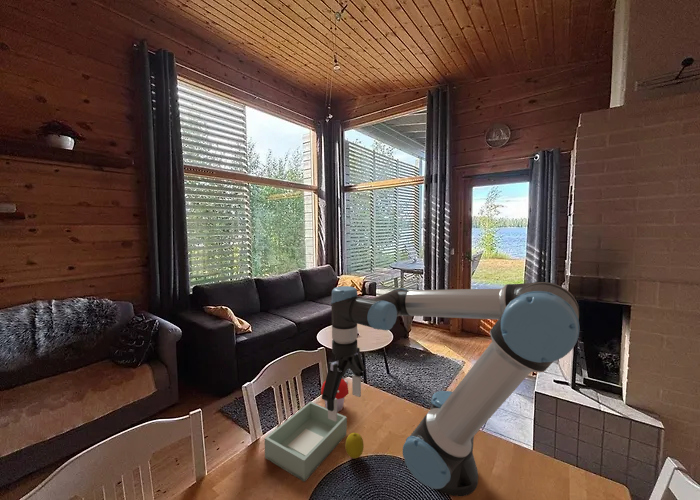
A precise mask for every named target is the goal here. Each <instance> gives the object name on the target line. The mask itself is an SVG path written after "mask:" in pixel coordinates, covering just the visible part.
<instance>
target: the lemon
mask: <svg viewBox="0 0 700 500" xmlns="http://www.w3.org/2000/svg"><path fill="white" fill-rule="evenodd" d="M345 439H346V440H345V445H344V446H345V451H346V454H347V455H348V457H350V458H351V459H358V458H360V457H361V456H362V454H363V452H364V447H365V445H364V444H365V443H364V439H363V437H362V436H361V434H360V433H358V432H351V433H350V434H348V436H347V437H346V438H345Z"/></svg>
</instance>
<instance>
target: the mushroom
mask: <svg viewBox="0 0 700 500" xmlns="http://www.w3.org/2000/svg"><path fill="white" fill-rule="evenodd" d="M325 382H326V380H324V382H323V383H322V385H321V391H320V394H321V396H322V394H323V390H324V386H325ZM348 394H349V381H348V380H346V379H343V378H342V379H341V382H340V385H339V388H338V391H337V394H336V397H335V398H337V413H338V412H341V410H342V409H343V408H344V402H345V397H346V396H348ZM324 404H325V406H324V407H325V408H327V401H326V400H324Z"/></svg>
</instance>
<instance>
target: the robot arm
mask: <svg viewBox="0 0 700 500" xmlns="http://www.w3.org/2000/svg"><path fill="white" fill-rule="evenodd" d="M330 307H331V338H332V340H331V351H332V354H333V355H334V356H335V357H334V358H335V359H334V361H332V362H331V361H329V362H328V365H327V366H328V367H327V373H326V378H325V381H326V382H325V386H324V390H323V394H322V395H321V400H323V401H325V400H326V401H327V409H328V419H330V420H333V421H335V422H336V421H337V413H338V412H337V398H335V397H336V394H337V391H338V388H339V385H340V382H341V379H343V377H345V375H346V372H347V371H348V370H350V371H351V372H352V373H353V374H352V375H351V380H352V381H351V382H352V383H351V384H352V386H351V389H352V390H351V391H352V396H355V397H358V398H361V396H362V389H361V387H362V386H361V385H362V383H361V382H362V378H361V377H364V376H365V373H364V372H365V370H366V369H365V365H364V361H363V359H362V356H361V349H360V348H361V347H358V325H360V326H361V325H362V326H365V327H369V328H372V329H375V330H379V331H380V330H382V331H390V330H391V329H392V328H393V327H394V325H395V324H396V322H397V317H401V316H403V317H404V316H405V317H426V318H427V317H433V318H450V319H451V318H452V319H454V318H456V319H472V320H473V319H477V320H497V321H496V323H495V324H494V325H493V326H492V327H491V329H490V330H489V335H490V339H491V342H490V344H488V346H487V347H486V349H485V350H484V351H483V353H482V354H481V355H480V356H479V358H478V359H477V360H476V361H475V363H474V364H472V367H471V368H470V369H469V370H468V372H466V374H465V375H464V376H463V378H462V379H461V381H460V382H459V383H458V385H456V387H455V389H454V390H453V391H451V390H450V391H449V390H440V391H436V392H434V393H433V394H432V396H431V400H430V403H431V406H430V409H429V411H428V412H427V413H426V414H425V416H424V417H423V418H422V420H421V421H420V422H419V424H418V425H417V426H416V428H414V430H413V431H412V433H410V435H409V436H408V437H406V438H405V442H404V443H403V445H402V457H403V459H404V463H405V465H406V468H407V469H408V470H409V472H410V473H411V474H412V476H413V477H414V478H415V479H416V480H417V481H418V482H420V483H421V484H422V485H424V486H426V487H429V488H430V489H435V490H437V491H439V492H441V493H443V494H445V493H446V494H445V495H448V496H453V497H465V496H468V495H471V494H472V493H474V492H475V490H476V489H477V487H478V484H479V471H478V466H477V464H476V460H475V456H474V452H473V451H474V438H475V435H476V434H477V433H478V432H479V430H481V429H482V428H483V427H484V425H485V424H486V423H487V422H488V421H490V418H491V417H492V416H493V415H494V414H495V413H496V412H497V411H498V410H499V409H500V407H501V406H502V405H503V404H504V403H505V402H506V400H507V399H508V398H509V397H510V396H511V395H512V394H513V393H514V392H515V391H516V390H517V388H518V387H519V386H520V385H521V384H522V383H523V381H524V380H526V378H527V377H528V376H529V375H530V374H531V373H544V372H546V370H547V369H548V368H549V367H550V366H552V364H553V363H554V362H556V361H558V360H561V359H563V358H564V357H566V356H567V355H568V354H569V353H571V352H572V351H573V349H574V347H575V345H576V344H577V342H578V340H579V336H580V329H581V328H580V321H579V319H580V307H579V304H578V301H577V300H576V298H575V297H574V295H573V294H572V293H571V292H570V291H569V290H567V289H566V288H565V287H563V286H561V285H559V284H556V283H553V282H546V281H539V282H538V281H537V282H525V283H507V284H505V285H504V286H503V287H502V288H462V289H461V288H459V289H455V288H454V289H420V290H419V289H412V290H410V289H407V288H402V287H401V288H394V289H393V290H390V291H389V292H386V293H383V294H381V295H379V296H376V297H373V298H369V297H362V296H358V289H357V288H356V287H354V286H348V285H345V286H344V285H341V286H337V287H334V288H333V289H332V290H331V301H330Z"/></svg>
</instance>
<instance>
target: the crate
mask: <svg viewBox="0 0 700 500" xmlns="http://www.w3.org/2000/svg"><path fill="white" fill-rule="evenodd" d="M347 423H348V422H347V416H346V415H343V414H341V413H338V412H337V421H336V422H335V421H333V420H330V419H328V409H327V408H326V406H322V405H319V404H317V403H315V402H313V401H309V402H308V403H306V404H304V406H303V407H301V408H300V409H298V410H297V411H296V412H294V414H293V415H292V416H290V417H289V418H288V419H286V420H285V421H284V422H283V423H281V425H279V426H278V427H276V428H275V429H274V430H273V431H271V432H270V433H269V434H268V435H267V436H265V437H264V458H265V459H266V460H268V461H269V462H271V463H273V464H274V465H276V466H277V467H279V468H281V469H282V470H284V471H286V473H289V474H290V475H292V476H294V477H295V478H298V479H299V480H301V481H302V482H306V481H307V480H308V479H309V478H310V477H311V475H312V474H313V473H314V472H315V471H316V469H318V467H319V466H321V464H322V463H323V462H324V461H325V460H326V459H327V457H328V456H329V455H330V454H331V453H332V452H333V450H334V449H335V448H336V447H338V445H339V444H340V443H341V442H342V440H343V439H345V437H346V436H347V434H348V433H347V429H348V427H347V426H348V425H347Z"/></svg>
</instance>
